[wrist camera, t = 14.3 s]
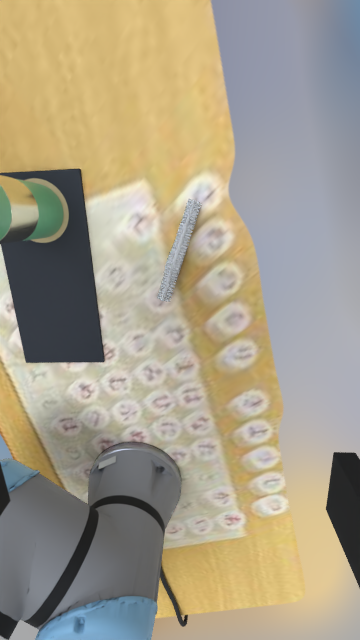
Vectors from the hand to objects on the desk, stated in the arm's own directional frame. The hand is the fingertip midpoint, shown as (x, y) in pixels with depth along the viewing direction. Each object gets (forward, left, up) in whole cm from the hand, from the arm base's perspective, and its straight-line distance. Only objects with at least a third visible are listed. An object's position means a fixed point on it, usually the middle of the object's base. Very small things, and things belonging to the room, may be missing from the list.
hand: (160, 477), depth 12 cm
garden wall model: (+6, +1, -32) cm, 32 cm away
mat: (+3, +19, -32) cm, 37 cm away
